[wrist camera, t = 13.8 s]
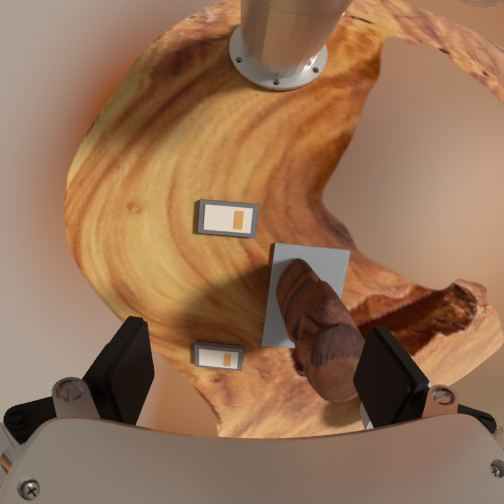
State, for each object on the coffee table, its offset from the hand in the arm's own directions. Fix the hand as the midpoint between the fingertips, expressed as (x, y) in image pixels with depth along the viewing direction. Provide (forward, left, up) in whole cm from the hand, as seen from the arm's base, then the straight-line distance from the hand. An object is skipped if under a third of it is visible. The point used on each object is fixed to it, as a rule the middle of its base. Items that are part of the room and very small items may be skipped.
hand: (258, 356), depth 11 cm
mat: (+8, +8, -24) cm, 27 cm away
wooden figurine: (+7, +8, -24) cm, 26 cm away
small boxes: (+8, -3, -24) cm, 26 cm away
